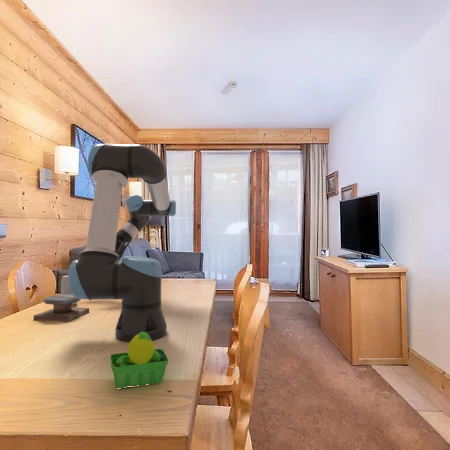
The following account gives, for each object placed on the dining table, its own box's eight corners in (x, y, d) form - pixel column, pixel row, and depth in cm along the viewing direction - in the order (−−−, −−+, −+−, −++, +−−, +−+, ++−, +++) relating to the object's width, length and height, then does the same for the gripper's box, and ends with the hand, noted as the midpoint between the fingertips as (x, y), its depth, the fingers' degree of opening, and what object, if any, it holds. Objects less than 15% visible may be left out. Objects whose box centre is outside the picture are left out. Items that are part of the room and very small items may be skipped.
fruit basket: (162, 370, 75) (162, 320, 75) (170, 387, 67) (170, 332, 67) (109, 377, 71) (110, 325, 71) (111, 397, 63) (111, 338, 63)
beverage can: (80, 303, 140) (81, 274, 140) (72, 306, 133) (72, 277, 133) (66, 302, 140) (67, 274, 140) (57, 306, 134) (57, 276, 134)
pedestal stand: (67, 321, 112) (68, 302, 112) (33, 319, 114) (33, 301, 114) (89, 312, 125) (89, 295, 125) (57, 310, 127) (58, 293, 127)
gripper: (146, 240, 149) (114, 277, 138) (118, 238, 166) (88, 271, 155) (135, 228, 145) (102, 265, 134) (108, 228, 162) (77, 260, 152)
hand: (95, 268), depth 145 cm, fingers open, 13 cm apart
